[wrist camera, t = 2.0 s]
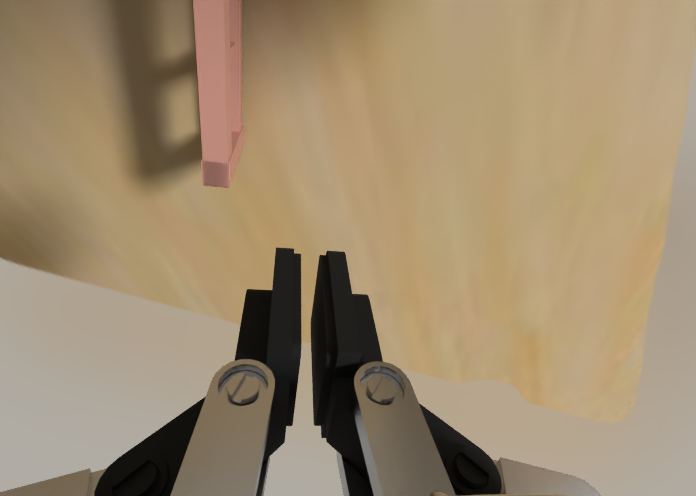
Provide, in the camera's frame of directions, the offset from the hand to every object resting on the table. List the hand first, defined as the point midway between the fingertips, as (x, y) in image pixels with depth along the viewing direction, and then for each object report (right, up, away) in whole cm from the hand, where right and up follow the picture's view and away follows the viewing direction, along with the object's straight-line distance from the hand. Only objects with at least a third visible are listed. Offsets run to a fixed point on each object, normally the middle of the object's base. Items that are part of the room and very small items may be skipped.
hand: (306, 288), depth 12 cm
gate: (-6, +15, +14) cm, 21 cm away
